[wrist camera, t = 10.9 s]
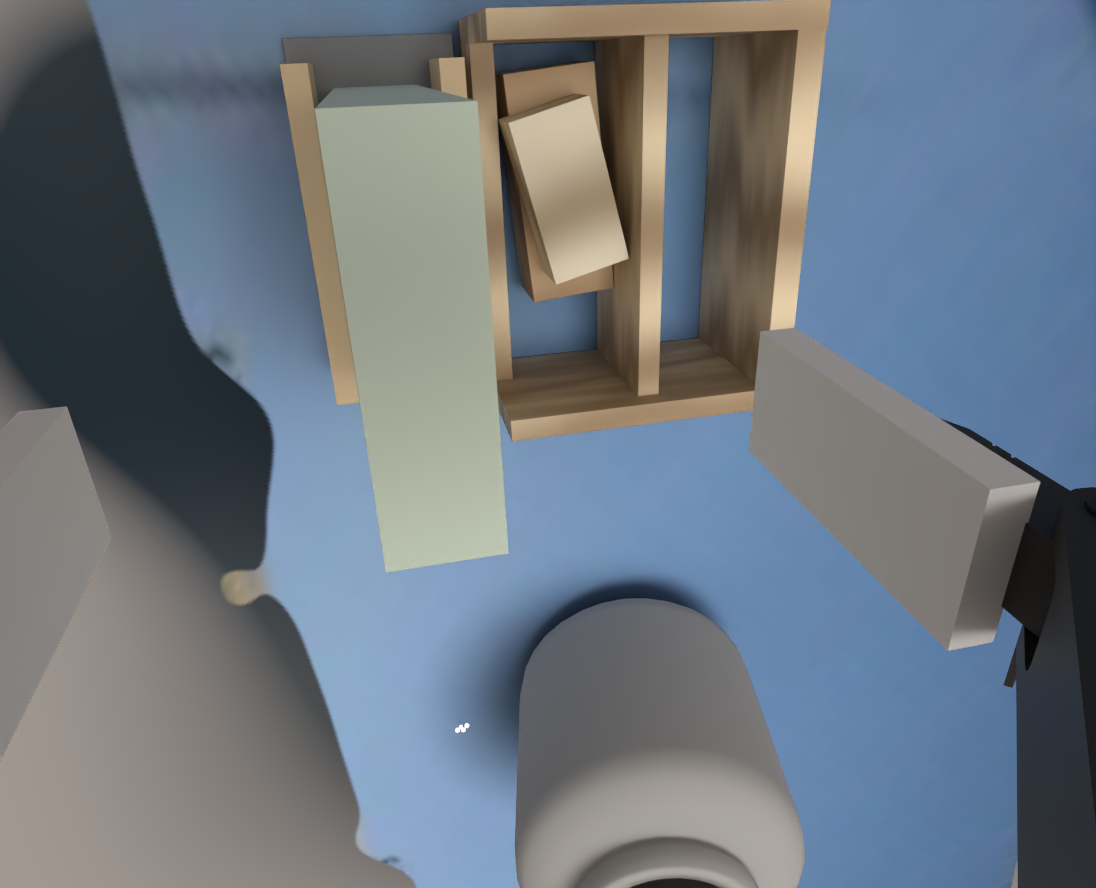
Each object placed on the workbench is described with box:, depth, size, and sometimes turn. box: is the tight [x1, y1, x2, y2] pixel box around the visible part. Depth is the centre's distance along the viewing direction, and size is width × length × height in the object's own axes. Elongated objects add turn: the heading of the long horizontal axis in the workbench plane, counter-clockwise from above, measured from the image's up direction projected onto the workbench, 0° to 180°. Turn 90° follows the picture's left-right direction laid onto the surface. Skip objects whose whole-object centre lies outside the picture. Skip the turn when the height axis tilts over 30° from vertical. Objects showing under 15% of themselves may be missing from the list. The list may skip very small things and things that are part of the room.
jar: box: [455, 598, 805, 888], centre depth 42 cm, size 19×15×25 cm
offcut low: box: [495, 61, 614, 302], centre depth 37 cm, size 10×4×4 cm, turn 7°
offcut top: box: [498, 93, 629, 285], centre depth 34 cm, size 7×4×2 cm, turn 17°
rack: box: [459, 0, 831, 441], centre depth 36 cm, size 17×13×8 cm
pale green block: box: [315, 84, 508, 572], centre depth 28 cm, size 12×4×20 cm, turn 2°
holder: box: [280, 33, 467, 405], centre depth 35 cm, size 16×7×5 cm, turn 2°
